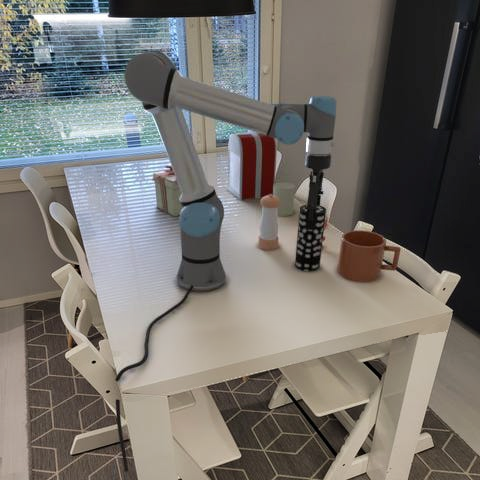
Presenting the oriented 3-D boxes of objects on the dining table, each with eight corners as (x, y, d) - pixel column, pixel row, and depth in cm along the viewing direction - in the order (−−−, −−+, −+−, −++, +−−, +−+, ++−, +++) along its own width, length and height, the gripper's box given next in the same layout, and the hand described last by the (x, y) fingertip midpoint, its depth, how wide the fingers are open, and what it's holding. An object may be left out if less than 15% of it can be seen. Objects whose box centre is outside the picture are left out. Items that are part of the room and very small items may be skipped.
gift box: (148, 209, 207) (144, 168, 198) (182, 200, 218) (180, 161, 209) (172, 219, 197) (170, 177, 188) (206, 209, 208) (206, 169, 199)
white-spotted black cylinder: (318, 272, 159) (325, 214, 148) (293, 270, 160) (298, 212, 150) (320, 262, 166) (326, 205, 155) (296, 259, 167) (301, 203, 156)
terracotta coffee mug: (335, 279, 155) (340, 244, 149) (338, 261, 167) (343, 228, 160) (395, 286, 152) (402, 251, 145) (394, 267, 163) (401, 234, 157)
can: (268, 213, 206) (269, 185, 199) (277, 207, 213) (278, 179, 206) (288, 217, 202) (290, 188, 196) (296, 210, 209) (298, 183, 203)
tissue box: (275, 196, 226) (278, 135, 211) (240, 200, 220) (241, 138, 206) (260, 186, 239) (263, 128, 224) (227, 189, 233) (227, 130, 218)
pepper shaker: (261, 250, 173) (264, 198, 163) (255, 242, 179) (257, 191, 169) (280, 248, 175) (284, 196, 164) (274, 241, 181) (277, 190, 170)
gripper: (327, 164, 132) (320, 237, 144) (334, 145, 153) (327, 209, 164) (300, 163, 134) (295, 234, 145) (311, 143, 154) (305, 207, 166)
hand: (312, 221), depth 155 cm, fingers open, 13 cm apart
